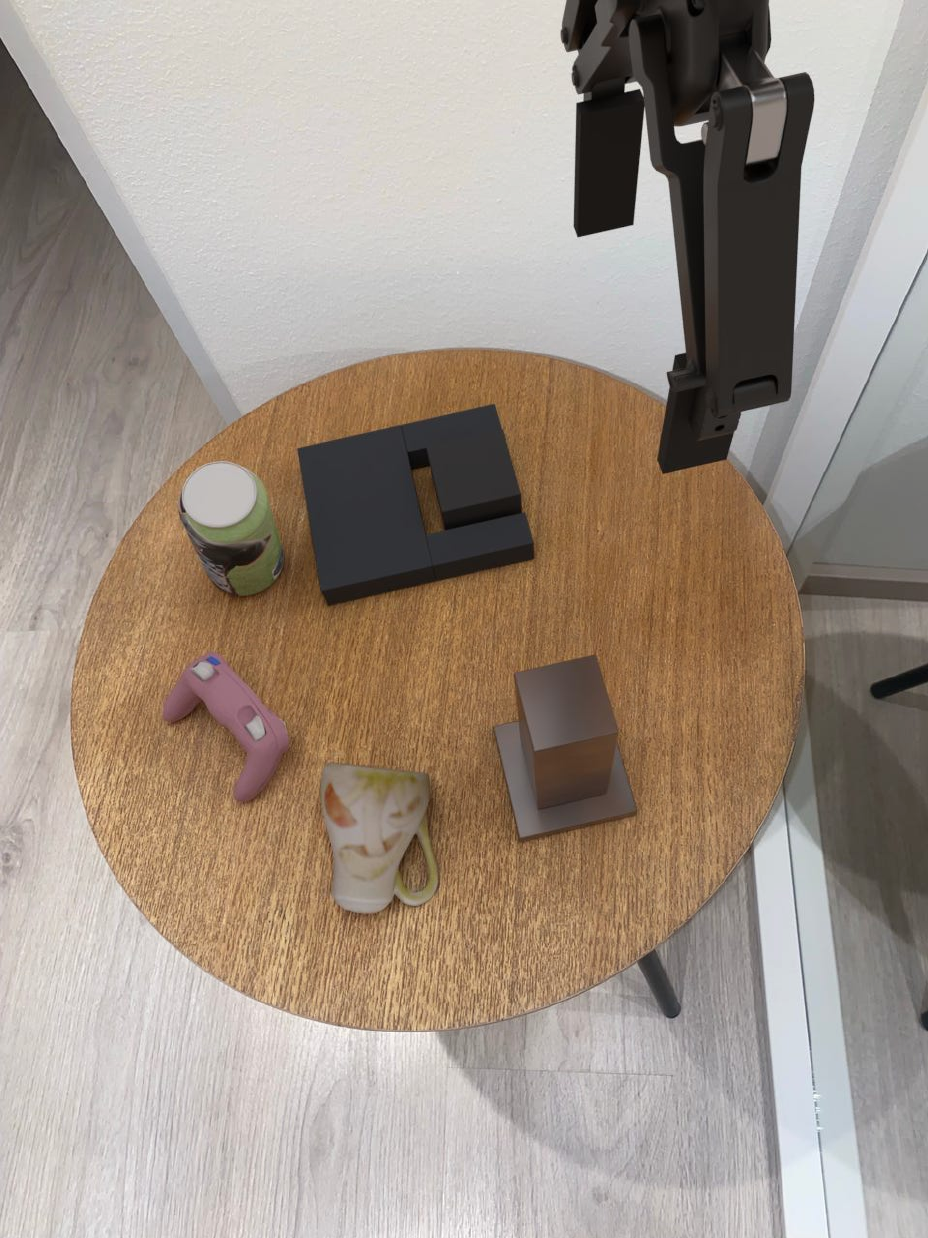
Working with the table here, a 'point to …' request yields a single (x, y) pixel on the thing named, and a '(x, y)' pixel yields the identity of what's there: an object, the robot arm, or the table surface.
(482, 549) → the base pad
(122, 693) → the table surface
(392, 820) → the mug
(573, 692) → the stand
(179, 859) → the table surface
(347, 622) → the table surface
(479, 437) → the black square block
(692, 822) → the table surface
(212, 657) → the video game controller
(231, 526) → the beverage can
